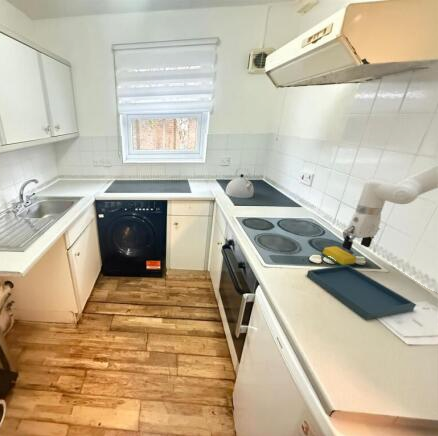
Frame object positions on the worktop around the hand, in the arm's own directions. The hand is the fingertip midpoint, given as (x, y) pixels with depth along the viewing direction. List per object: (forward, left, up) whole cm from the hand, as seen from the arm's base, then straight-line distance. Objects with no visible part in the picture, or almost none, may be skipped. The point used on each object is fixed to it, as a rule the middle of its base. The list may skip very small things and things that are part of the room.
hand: (355, 247), depth 102 cm
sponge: (+2, -4, -9) cm, 10 cm away
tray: (+16, +15, -9) cm, 23 cm away
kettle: (-11, -106, -9) cm, 107 cm away
